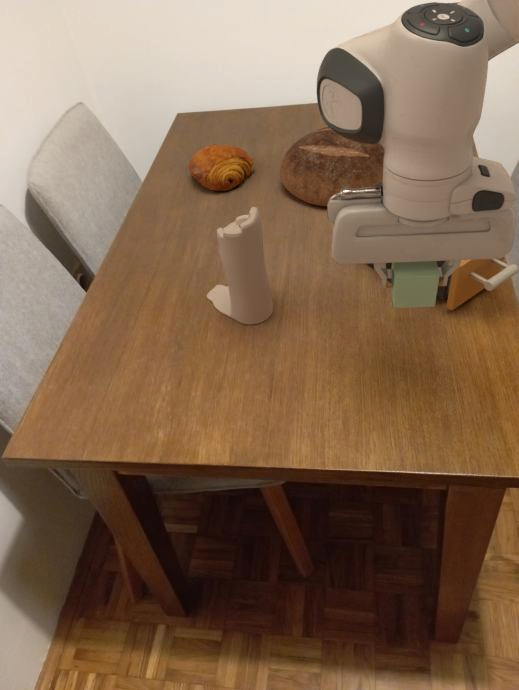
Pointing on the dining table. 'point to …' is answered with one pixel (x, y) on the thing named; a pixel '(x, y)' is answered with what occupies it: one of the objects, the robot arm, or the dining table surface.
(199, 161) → the croissant
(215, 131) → the dining table surface
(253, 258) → the candle
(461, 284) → the drawer
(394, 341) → the dining table surface
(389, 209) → the robot arm
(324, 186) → the bread
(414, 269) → the block
